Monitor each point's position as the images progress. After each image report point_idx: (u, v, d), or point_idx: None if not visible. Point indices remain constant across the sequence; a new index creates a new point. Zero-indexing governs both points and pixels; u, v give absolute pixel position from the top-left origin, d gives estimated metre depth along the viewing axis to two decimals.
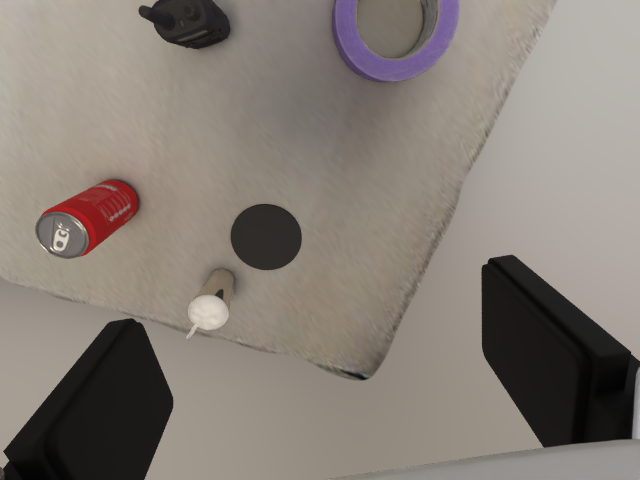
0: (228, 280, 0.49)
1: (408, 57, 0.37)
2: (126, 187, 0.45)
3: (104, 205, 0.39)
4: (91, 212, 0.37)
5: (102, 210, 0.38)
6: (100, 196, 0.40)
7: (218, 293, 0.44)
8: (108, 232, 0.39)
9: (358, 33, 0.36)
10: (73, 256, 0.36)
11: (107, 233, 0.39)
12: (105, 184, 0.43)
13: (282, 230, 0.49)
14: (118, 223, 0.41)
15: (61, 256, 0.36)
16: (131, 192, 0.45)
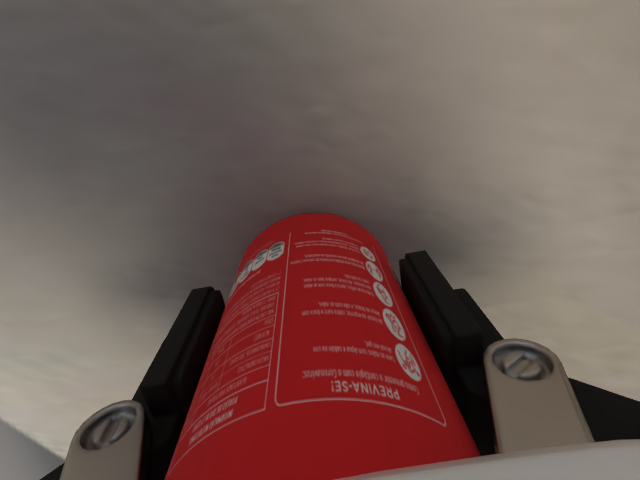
0: None
1: None
2: (299, 218, 0.12)
3: (314, 341, 0.06)
4: None
5: (343, 380, 0.05)
6: (265, 319, 0.07)
7: None
8: (473, 441, 0.06)
9: None
10: None
11: (479, 454, 0.06)
12: (244, 266, 0.11)
13: None
14: (425, 342, 0.08)
15: None
16: (323, 217, 0.12)
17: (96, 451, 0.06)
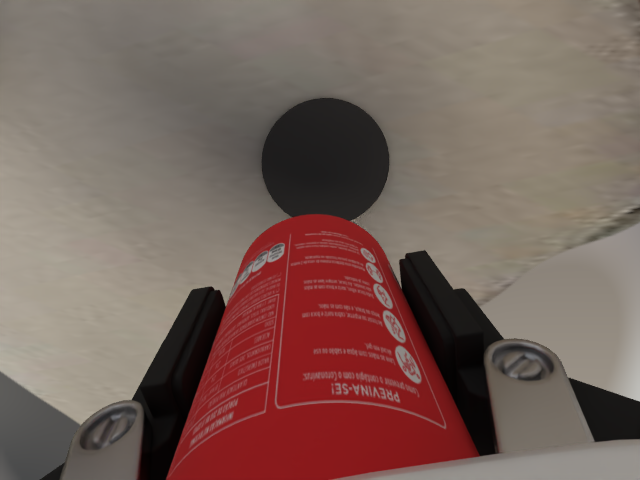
0: None
1: None
2: (299, 219, 0.12)
3: (314, 343, 0.06)
4: None
5: (343, 383, 0.05)
6: (265, 321, 0.07)
7: None
8: (473, 443, 0.06)
9: None
10: None
11: (479, 456, 0.06)
12: (245, 267, 0.11)
13: (329, 130, 0.26)
14: (424, 343, 0.08)
15: None
16: (324, 218, 0.12)
17: (95, 451, 0.06)
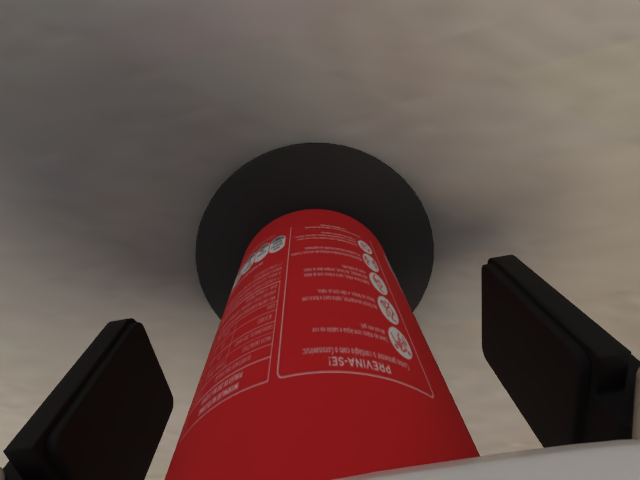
0: None
1: None
2: (299, 214, 0.12)
3: (314, 323, 0.07)
4: (316, 446, 0.04)
5: (339, 356, 0.06)
6: (268, 305, 0.07)
7: None
8: None
9: None
10: None
11: (465, 425, 0.06)
12: (247, 259, 0.11)
13: (323, 203, 0.14)
14: (417, 328, 0.08)
15: None
16: (323, 212, 0.12)
17: None
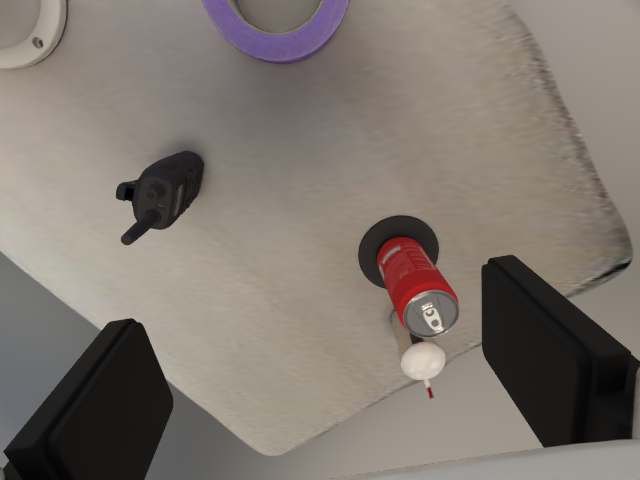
0: None
1: None
2: (398, 238, 0.40)
3: (417, 263, 0.35)
4: (425, 275, 0.33)
5: (424, 267, 0.34)
6: (405, 261, 0.36)
7: (413, 339, 0.39)
8: None
9: (268, 34, 0.30)
10: (453, 322, 0.32)
11: None
12: (387, 252, 0.39)
13: (402, 234, 0.42)
14: None
15: (445, 331, 0.33)
16: (405, 238, 0.40)
17: None
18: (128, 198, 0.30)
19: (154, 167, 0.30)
